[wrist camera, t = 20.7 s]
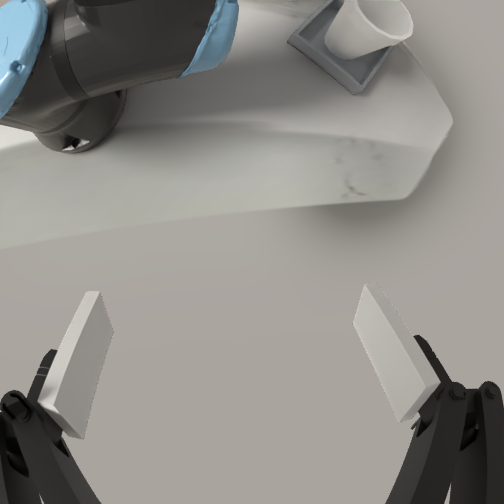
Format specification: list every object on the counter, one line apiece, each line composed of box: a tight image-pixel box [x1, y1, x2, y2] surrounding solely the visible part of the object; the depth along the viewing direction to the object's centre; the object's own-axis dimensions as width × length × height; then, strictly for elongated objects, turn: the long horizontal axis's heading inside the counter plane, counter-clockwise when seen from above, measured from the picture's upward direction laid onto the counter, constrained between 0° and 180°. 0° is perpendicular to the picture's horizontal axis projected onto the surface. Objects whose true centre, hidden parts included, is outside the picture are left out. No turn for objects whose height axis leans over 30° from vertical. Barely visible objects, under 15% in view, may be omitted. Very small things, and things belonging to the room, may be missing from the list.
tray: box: [287, 0, 395, 95], centre depth 36 cm, size 13×13×3 cm
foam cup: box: [324, 0, 414, 60], centre depth 30 cm, size 10×9×13 cm
